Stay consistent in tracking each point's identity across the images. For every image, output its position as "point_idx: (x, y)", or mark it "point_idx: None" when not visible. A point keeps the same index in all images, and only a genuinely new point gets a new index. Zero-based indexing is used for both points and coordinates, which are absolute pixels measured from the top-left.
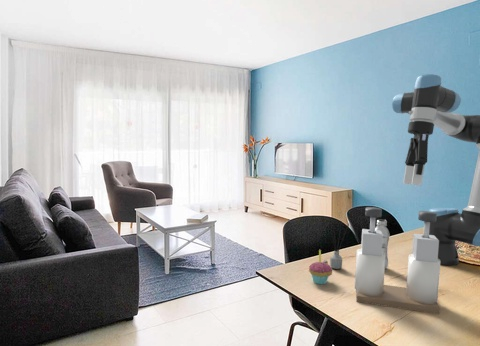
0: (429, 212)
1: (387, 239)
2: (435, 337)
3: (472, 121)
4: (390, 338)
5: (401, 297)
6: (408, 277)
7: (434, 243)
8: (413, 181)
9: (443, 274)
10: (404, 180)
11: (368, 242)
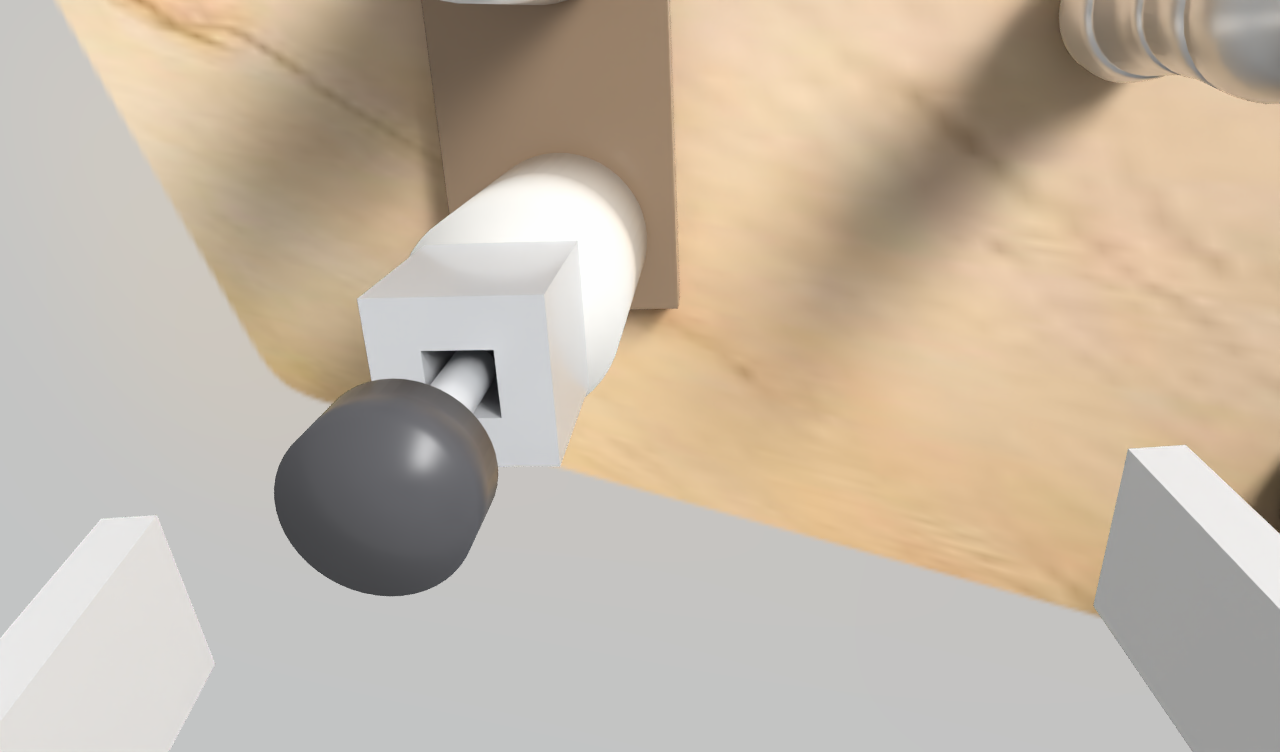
0: (398, 531)
1: (1194, 74)
2: (221, 233)
3: None
4: (91, 19)
5: (503, 119)
6: (508, 178)
7: None
8: (64, 588)
9: (1085, 449)
10: (1175, 506)
11: None
